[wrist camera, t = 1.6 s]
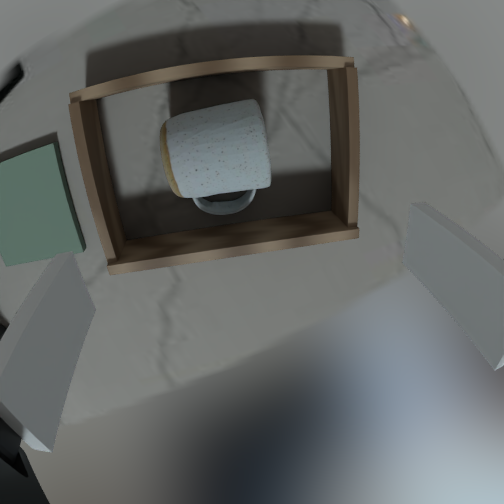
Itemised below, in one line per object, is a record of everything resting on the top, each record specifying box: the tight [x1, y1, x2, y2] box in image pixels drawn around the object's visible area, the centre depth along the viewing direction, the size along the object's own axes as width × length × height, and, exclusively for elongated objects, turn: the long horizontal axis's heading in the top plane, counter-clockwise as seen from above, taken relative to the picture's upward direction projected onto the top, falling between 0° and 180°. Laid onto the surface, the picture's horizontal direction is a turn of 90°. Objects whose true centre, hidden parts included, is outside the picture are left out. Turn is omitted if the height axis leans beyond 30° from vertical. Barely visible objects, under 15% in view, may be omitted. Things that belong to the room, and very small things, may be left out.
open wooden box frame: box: [69, 55, 360, 275], centre depth 27 cm, size 24×17×5 cm
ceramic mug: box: [160, 99, 271, 215], centre depth 26 cm, size 11×8×8 cm
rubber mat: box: [0, 142, 86, 266], centre depth 27 cm, size 12×12×1 cm
